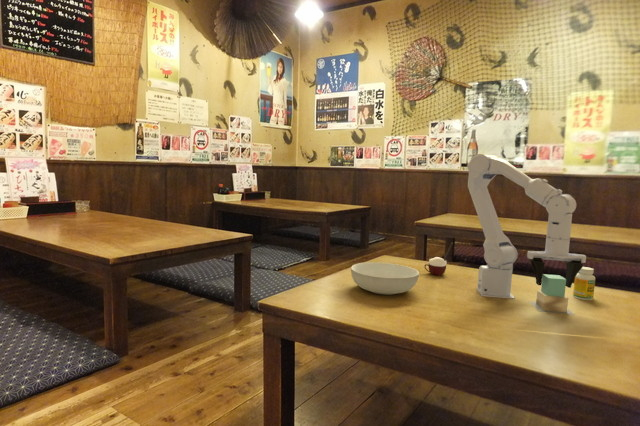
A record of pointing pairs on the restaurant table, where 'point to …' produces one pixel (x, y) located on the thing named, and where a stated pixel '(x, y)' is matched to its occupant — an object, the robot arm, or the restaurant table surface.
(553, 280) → the teal cube
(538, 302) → the birch block
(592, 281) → the supplement bottle
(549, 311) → the build pad
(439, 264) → the cocoa
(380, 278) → the serving bowl
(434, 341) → the restaurant table surface
